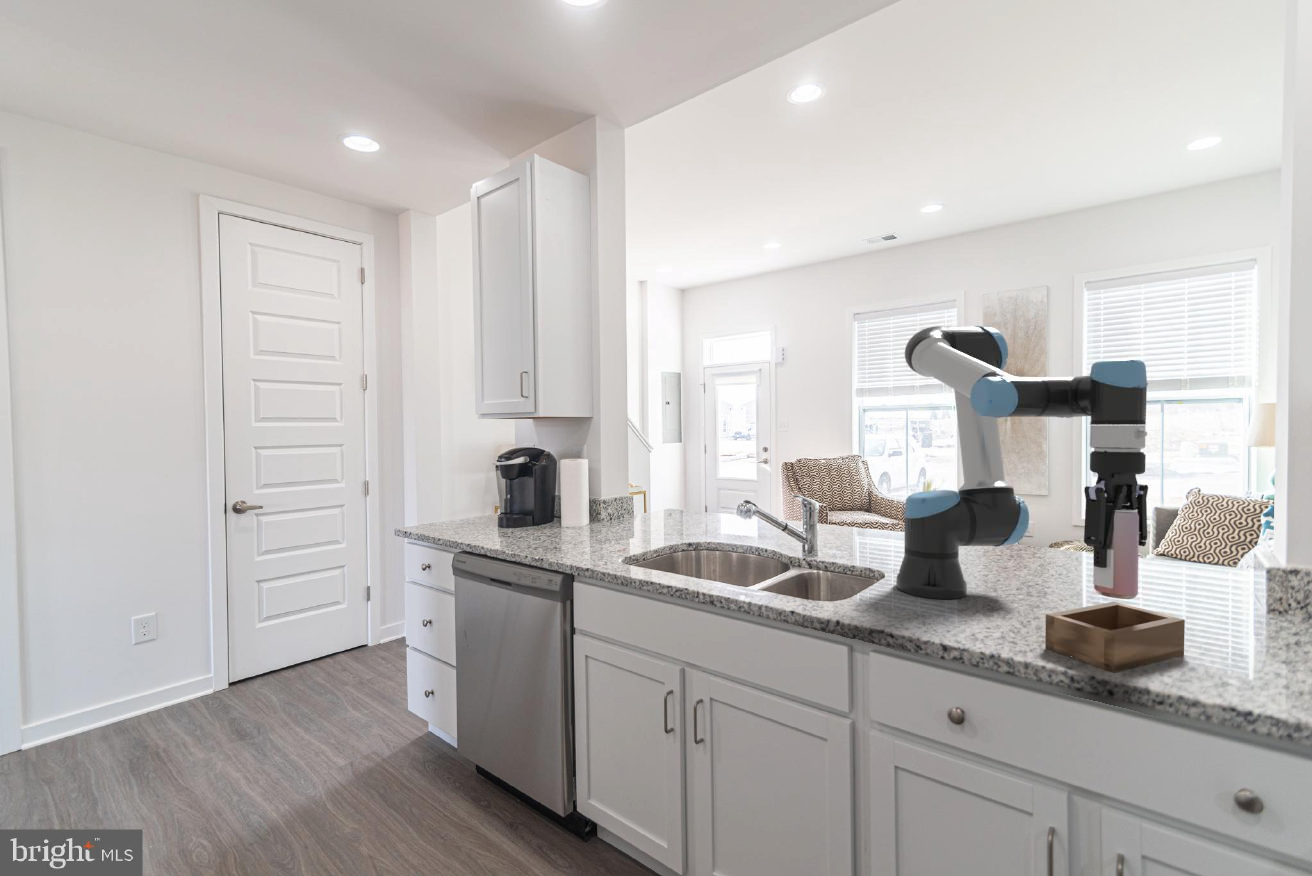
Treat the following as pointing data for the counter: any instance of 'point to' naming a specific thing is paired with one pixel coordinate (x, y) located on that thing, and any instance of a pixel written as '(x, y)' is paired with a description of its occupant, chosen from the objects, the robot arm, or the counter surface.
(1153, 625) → the tray
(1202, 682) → the counter surface
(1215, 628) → the counter surface
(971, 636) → the counter surface
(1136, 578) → the beverage can
